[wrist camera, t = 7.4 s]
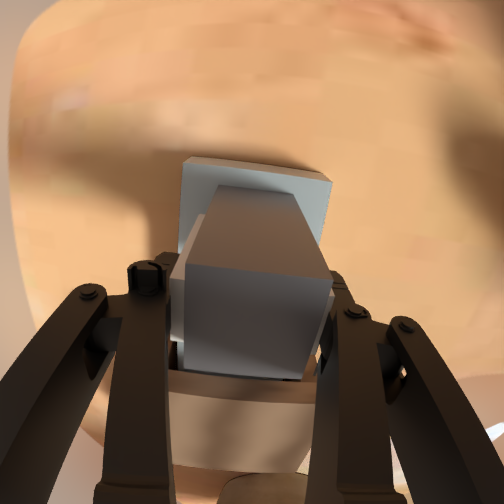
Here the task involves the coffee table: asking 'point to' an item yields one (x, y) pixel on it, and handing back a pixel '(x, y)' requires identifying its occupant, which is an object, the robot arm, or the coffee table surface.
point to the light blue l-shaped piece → (252, 268)
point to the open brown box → (240, 420)
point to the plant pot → (265, 489)
